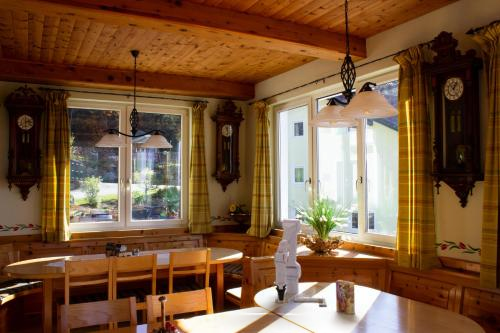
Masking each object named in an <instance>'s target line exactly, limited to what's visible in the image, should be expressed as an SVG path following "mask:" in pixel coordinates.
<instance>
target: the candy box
mask: <svg viewBox="0 0 500 333" xmlns="http://www.w3.org/2000/svg"><path fill="white" fill-rule="evenodd" d="M335 296H336V298H335V299H336V303H335V304H336V308H335V310H336V311H337V312H341V313H345V314H348V315H351V314H355V313H356V311H355V310H356V309H355V282H353V281H348V280H343V279H339V280H335Z"/></svg>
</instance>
